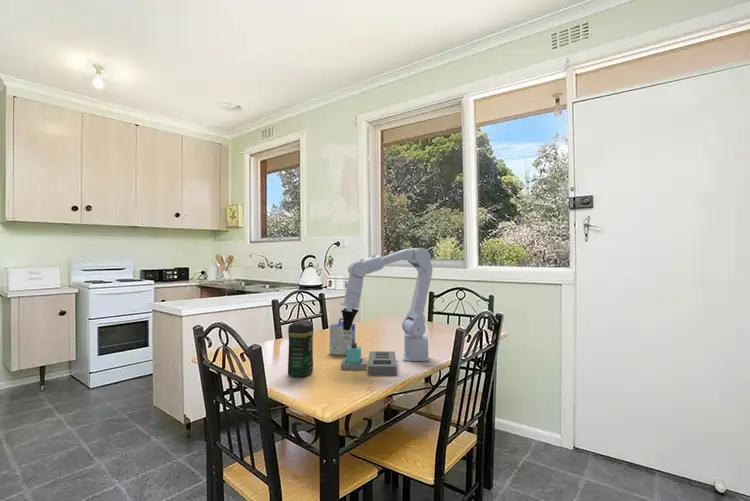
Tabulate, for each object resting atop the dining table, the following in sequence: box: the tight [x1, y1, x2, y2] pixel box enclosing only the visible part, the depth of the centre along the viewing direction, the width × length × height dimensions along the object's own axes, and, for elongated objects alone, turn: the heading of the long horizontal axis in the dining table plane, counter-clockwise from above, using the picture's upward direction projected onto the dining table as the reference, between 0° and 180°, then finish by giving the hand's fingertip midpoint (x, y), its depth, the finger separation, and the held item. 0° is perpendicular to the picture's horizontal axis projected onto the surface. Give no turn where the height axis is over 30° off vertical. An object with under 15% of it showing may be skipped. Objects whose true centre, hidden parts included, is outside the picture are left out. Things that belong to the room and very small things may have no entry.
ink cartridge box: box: [329, 317, 356, 356], centre depth 168 cm, size 10×6×14 cm, turn 78°
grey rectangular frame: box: [340, 357, 367, 371], centre depth 150 cm, size 9×8×2 cm
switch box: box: [367, 350, 398, 376], centre depth 149 cm, size 10×20×3 cm, turn 179°
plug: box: [346, 342, 362, 363], centre depth 150 cm, size 5×4×8 cm
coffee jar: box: [287, 319, 314, 378], centre depth 141 cm, size 10×8×19 cm
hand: (347, 328), depth 151 cm, fingers open, 7 cm apart
